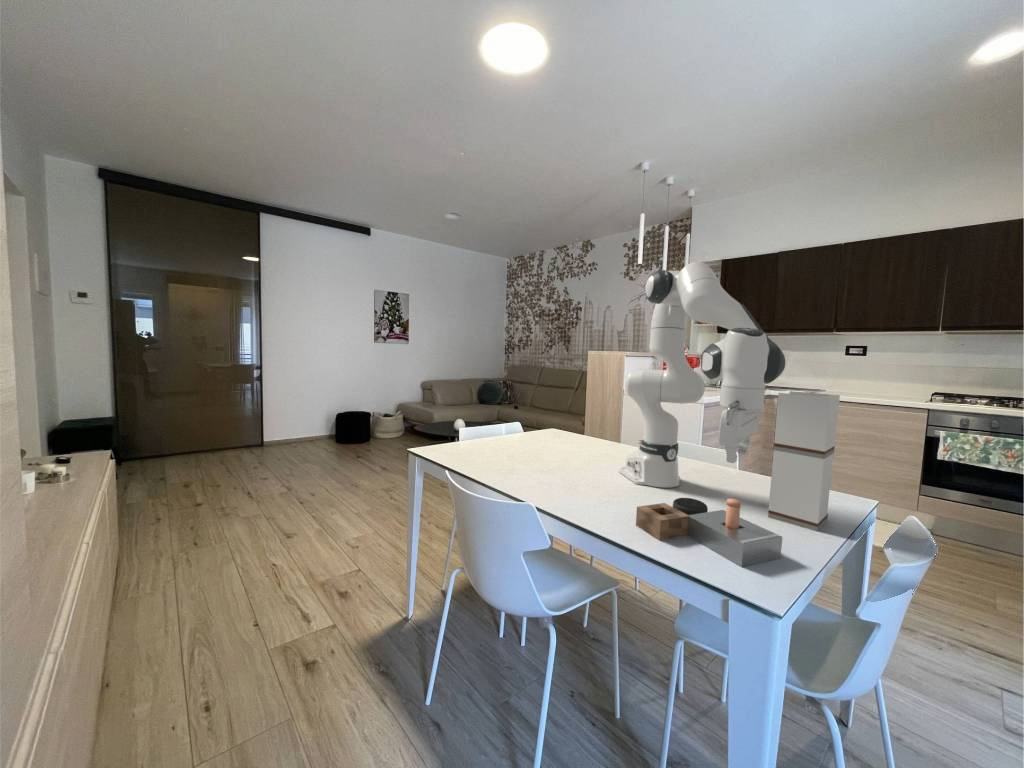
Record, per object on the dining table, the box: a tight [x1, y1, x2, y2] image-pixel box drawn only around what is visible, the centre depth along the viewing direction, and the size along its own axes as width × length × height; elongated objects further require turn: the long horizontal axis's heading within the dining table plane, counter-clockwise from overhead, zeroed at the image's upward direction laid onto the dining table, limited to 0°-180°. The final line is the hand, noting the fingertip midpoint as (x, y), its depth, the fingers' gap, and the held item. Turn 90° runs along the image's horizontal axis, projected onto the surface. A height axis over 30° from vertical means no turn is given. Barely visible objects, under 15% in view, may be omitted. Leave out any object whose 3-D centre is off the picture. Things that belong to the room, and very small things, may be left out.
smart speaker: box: [672, 497, 709, 515], centre depth 115 cm, size 9×9×4 cm
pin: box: [725, 498, 742, 530], centre depth 98 cm, size 3×3×11 cm
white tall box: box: [767, 390, 841, 532], centre depth 114 cm, size 11×11×35 cm
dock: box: [686, 509, 783, 568], centre depth 98 cm, size 16×12×5 cm
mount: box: [635, 502, 688, 541], centre depth 106 cm, size 9×9×5 cm
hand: (737, 457), depth 97 cm, fingers open, 8 cm apart
